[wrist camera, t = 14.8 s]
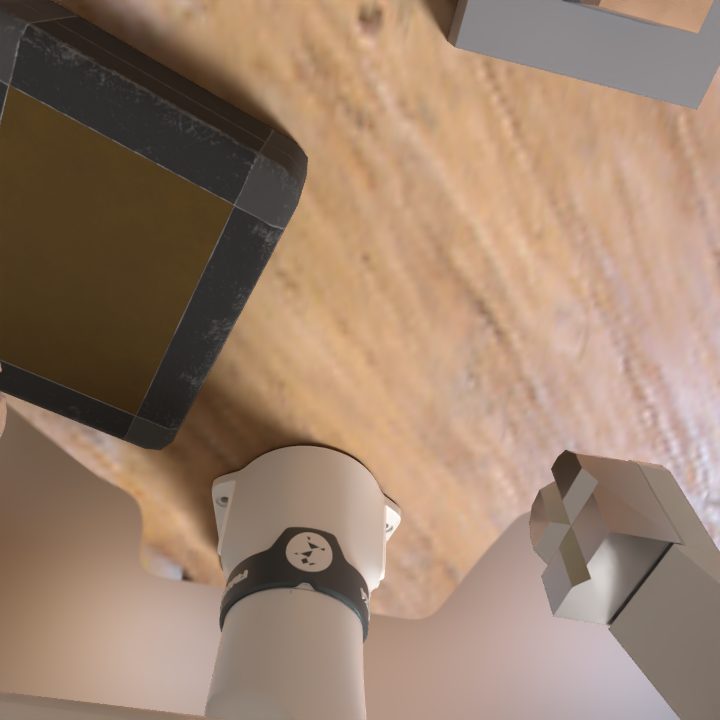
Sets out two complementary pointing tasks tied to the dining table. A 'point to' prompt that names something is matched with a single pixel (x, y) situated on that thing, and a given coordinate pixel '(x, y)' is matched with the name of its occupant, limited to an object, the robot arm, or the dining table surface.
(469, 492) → the dining table surface
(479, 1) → the stand
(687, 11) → the block
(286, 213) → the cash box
